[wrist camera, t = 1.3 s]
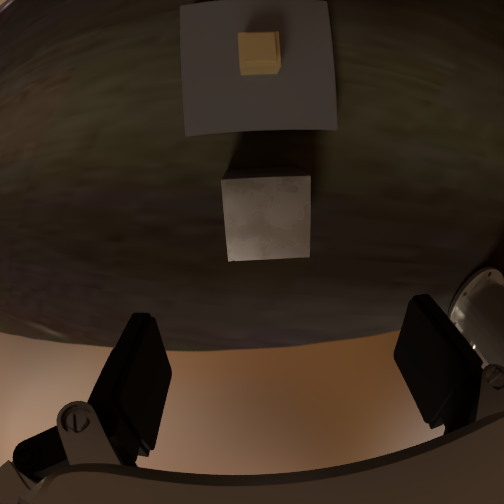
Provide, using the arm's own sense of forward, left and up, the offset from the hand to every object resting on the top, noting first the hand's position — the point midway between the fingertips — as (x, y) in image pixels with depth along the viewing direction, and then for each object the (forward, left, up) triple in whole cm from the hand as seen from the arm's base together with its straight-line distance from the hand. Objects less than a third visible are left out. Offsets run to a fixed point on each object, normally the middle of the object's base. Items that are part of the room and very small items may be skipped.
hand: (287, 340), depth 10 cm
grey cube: (0, 0, -20) cm, 20 cm away
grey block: (+13, 0, -20) cm, 24 cm away
